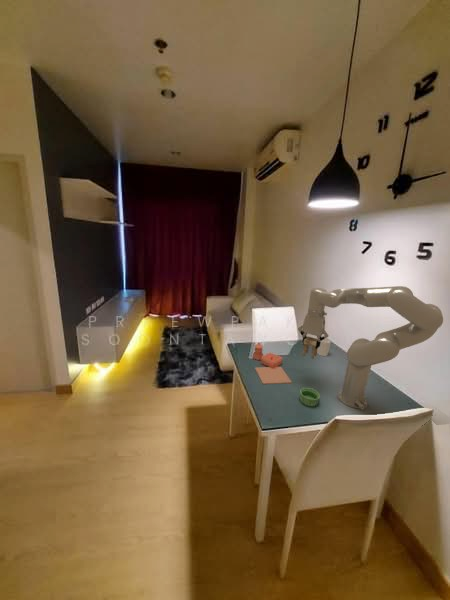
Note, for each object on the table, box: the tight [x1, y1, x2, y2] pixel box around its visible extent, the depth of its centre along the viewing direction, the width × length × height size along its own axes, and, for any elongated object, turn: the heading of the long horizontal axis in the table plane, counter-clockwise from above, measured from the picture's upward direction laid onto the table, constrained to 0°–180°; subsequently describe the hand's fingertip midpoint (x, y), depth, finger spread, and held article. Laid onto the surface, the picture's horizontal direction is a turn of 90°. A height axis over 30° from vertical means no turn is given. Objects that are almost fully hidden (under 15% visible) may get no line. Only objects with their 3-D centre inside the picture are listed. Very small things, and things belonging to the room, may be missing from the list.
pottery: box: [252, 342, 284, 369], centre depth 153 cm, size 18×10×10 cm, turn 46°
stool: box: [301, 336, 318, 360], centre depth 129 cm, size 6×6×9 cm
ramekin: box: [299, 387, 321, 407], centre depth 118 cm, size 9×9×4 cm
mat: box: [254, 366, 293, 385], centre depth 138 cm, size 16×16×1 cm
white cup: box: [316, 338, 332, 357], centre depth 167 cm, size 8×8×10 cm
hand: (310, 345), depth 129 cm, fingers closed on stool, 6 cm apart
